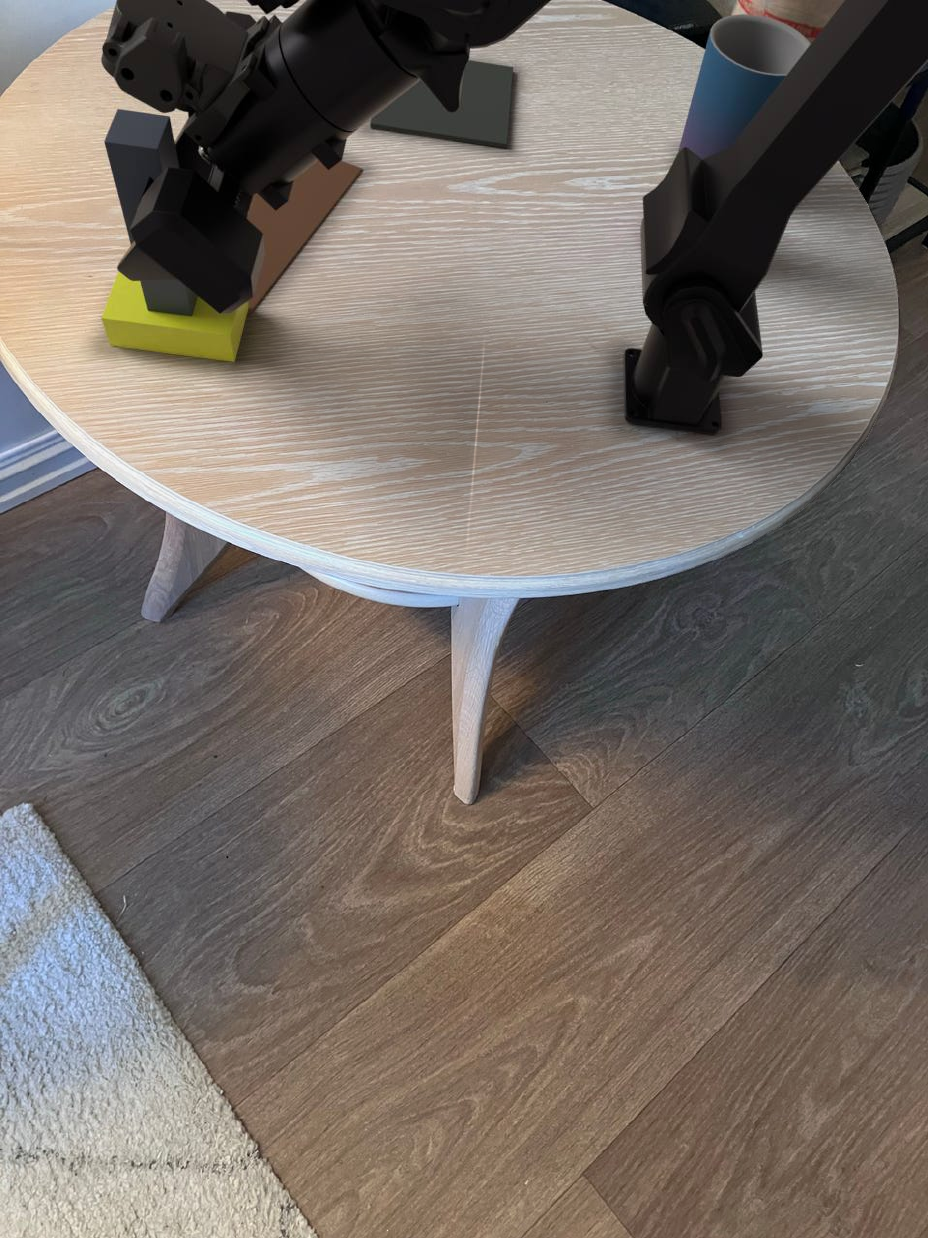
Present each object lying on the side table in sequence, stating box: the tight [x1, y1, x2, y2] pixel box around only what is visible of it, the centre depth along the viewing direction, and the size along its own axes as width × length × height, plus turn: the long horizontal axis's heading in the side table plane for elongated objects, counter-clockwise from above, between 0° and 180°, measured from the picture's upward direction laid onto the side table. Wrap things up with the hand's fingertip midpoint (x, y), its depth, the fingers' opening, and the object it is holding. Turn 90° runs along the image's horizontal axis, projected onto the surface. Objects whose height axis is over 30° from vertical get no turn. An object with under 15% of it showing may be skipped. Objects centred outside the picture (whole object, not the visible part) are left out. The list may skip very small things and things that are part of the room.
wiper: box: [101, 108, 249, 363], centre depth 55 cm, size 5×8×14 cm, turn 86°
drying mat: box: [369, 59, 514, 149], centre depth 77 cm, size 11×11×1 cm
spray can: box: [731, 0, 845, 44], centre depth 68 cm, size 8×8×20 cm
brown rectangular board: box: [247, 160, 363, 317], centre depth 67 cm, size 18×7×1 cm, turn 158°
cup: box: [677, 14, 810, 159], centre depth 65 cm, size 7×7×15 cm
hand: (139, 232), depth 55 cm, fingers open, 7 cm apart
